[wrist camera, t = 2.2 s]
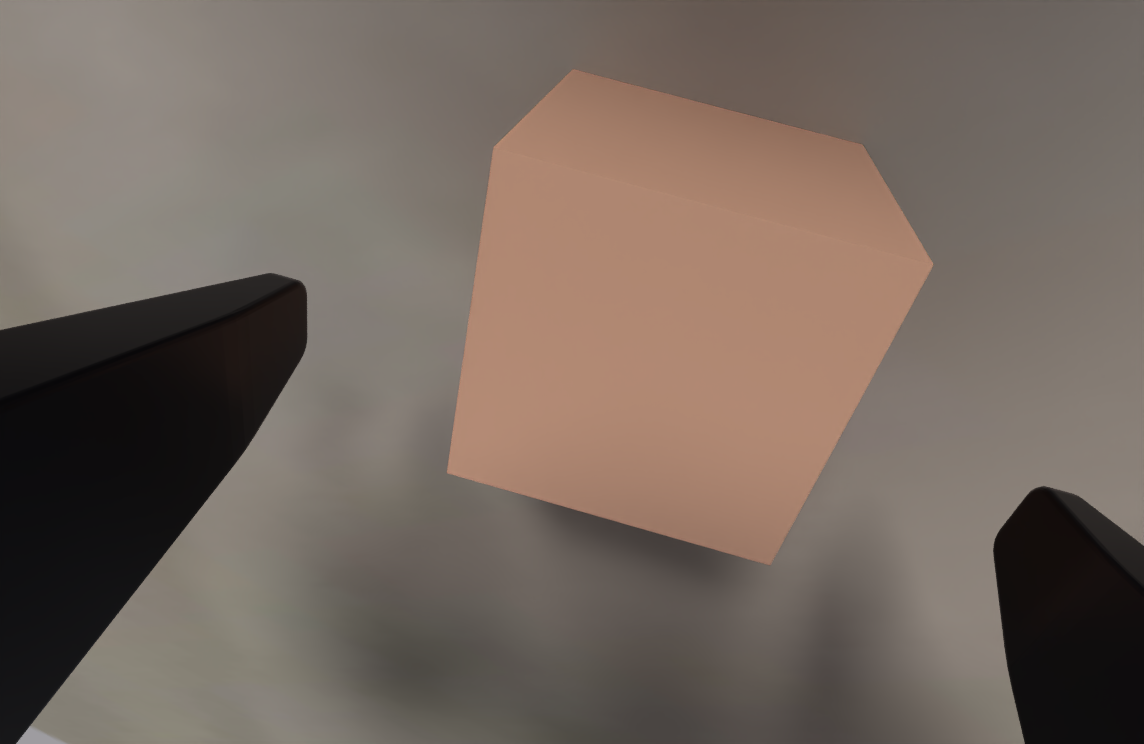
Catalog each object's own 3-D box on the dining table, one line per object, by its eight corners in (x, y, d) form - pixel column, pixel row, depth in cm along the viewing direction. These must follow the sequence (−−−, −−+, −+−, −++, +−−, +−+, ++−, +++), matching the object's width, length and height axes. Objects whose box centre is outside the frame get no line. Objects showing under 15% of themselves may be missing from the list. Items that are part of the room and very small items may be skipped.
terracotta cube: (861, 143, 12) (933, 265, 8) (758, 382, 15) (770, 565, 11) (573, 68, 12) (493, 147, 8) (524, 318, 15) (447, 472, 11)
